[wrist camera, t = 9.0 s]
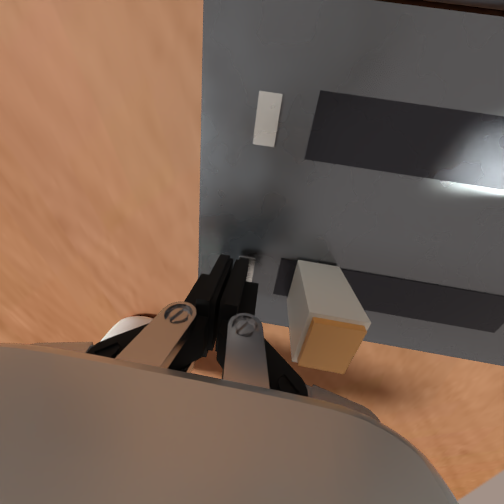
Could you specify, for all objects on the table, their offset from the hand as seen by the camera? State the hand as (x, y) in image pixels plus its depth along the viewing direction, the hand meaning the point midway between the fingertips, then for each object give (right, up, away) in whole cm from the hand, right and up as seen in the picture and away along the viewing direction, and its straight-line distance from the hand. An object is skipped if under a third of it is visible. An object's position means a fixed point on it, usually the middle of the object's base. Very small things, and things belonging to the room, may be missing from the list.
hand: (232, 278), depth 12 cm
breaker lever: (+5, 0, +1) cm, 5 cm away
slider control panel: (+10, +4, +2) cm, 11 cm away
